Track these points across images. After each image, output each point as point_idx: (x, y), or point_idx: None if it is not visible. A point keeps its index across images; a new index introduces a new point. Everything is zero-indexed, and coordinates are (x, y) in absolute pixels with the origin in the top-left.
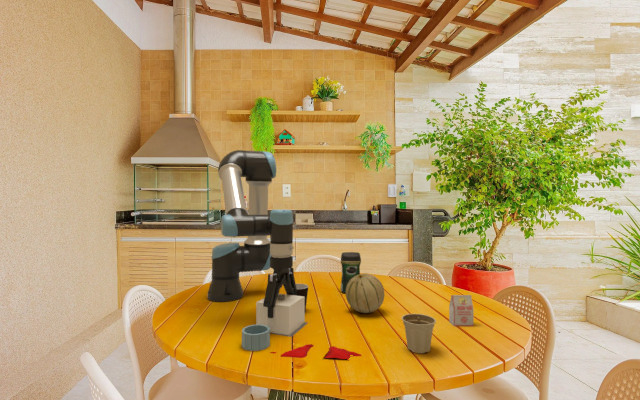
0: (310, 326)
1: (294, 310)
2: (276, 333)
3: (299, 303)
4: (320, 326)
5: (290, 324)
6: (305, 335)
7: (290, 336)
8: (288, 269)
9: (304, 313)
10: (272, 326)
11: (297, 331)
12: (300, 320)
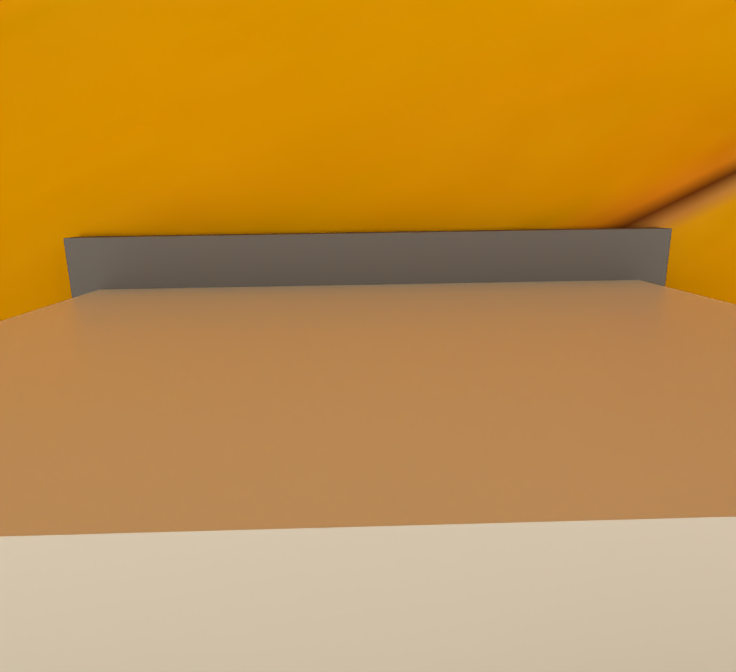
0: (133, 167)
1: (608, 375)
2: None
3: (173, 436)
4: (52, 6)
5: (681, 305)
6: (486, 88)
7: (669, 244)
8: None
9: (6, 320)
10: None
11: (463, 235)
12: (236, 301)
